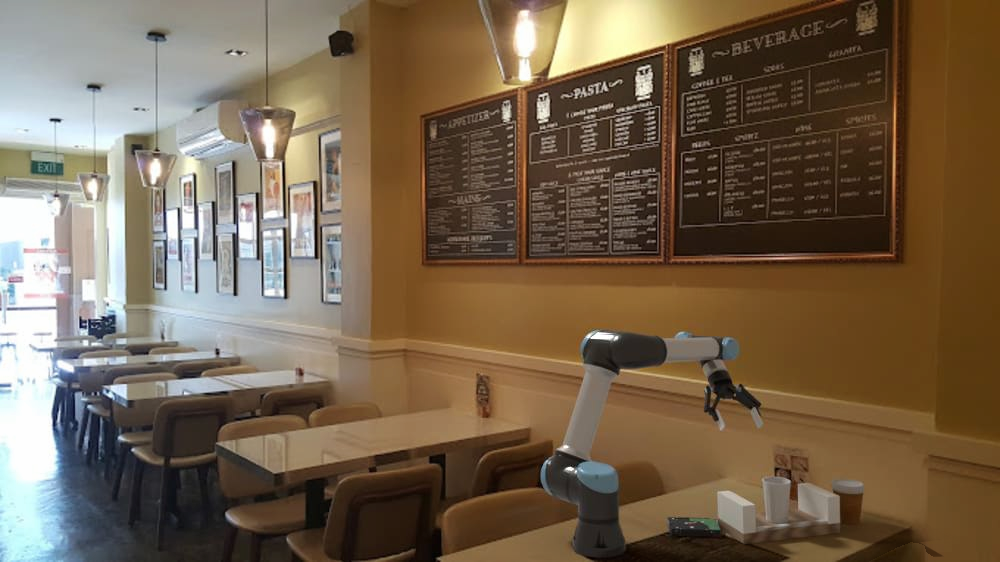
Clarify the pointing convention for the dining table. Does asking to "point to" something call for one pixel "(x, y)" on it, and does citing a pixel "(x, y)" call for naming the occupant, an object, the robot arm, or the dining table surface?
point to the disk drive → (693, 526)
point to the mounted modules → (809, 501)
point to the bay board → (782, 528)
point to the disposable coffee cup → (849, 499)
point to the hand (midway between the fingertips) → (742, 427)
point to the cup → (776, 499)
